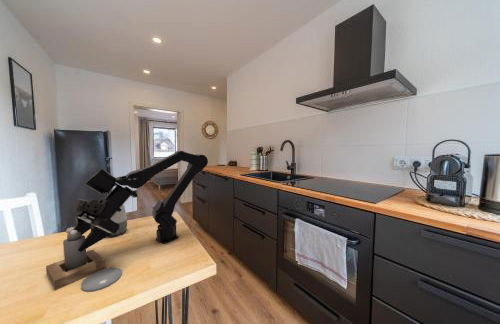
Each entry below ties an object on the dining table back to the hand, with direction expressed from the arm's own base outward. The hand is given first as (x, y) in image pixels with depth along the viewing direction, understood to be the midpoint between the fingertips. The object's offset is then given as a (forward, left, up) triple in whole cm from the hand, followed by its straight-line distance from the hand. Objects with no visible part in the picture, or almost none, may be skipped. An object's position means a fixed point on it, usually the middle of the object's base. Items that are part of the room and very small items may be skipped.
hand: (73, 246), depth 55 cm
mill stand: (0, 0, -8) cm, 8 cm away
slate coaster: (-3, +11, -8) cm, 14 cm away
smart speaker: (-17, -20, -8) cm, 28 cm away
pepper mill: (0, 0, -8) cm, 8 cm away
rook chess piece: (-3, -18, -8) cm, 20 cm away
